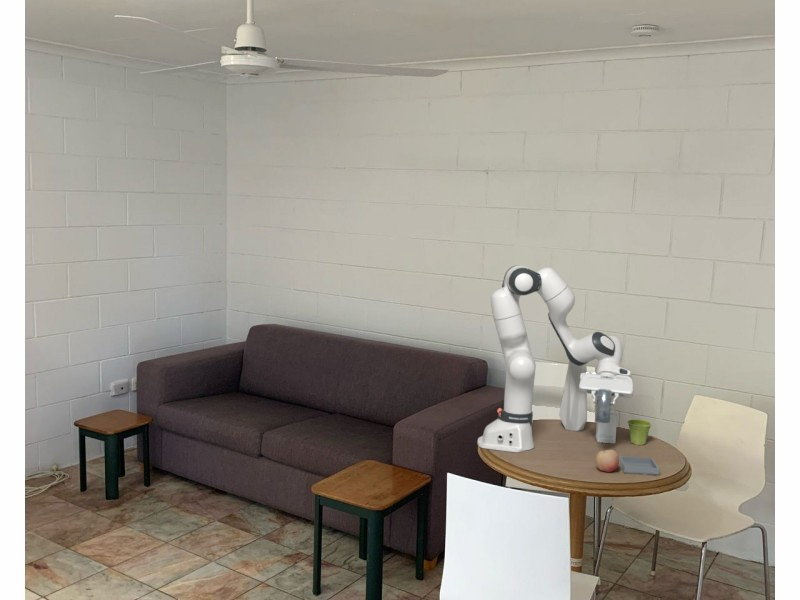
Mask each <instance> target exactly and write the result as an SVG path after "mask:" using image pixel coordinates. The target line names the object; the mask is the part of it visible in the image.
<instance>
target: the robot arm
mask: <svg viewBox="0 0 800 600" xmlns="http://www.w3.org/2000/svg"><path fill="white" fill-rule="evenodd" d="M533 293H537V294H538V295H539V296H540V298H542V300H543V301H544V303H545V304H546V306H547V308H548V314H547V316H548V320H549V321H550V325H551V327H552V329H554V332H555V334H556V335H557V337H558V340H559V341H560V342H561V344H562V348H563V349H564V351H565V354H566V357H567V359H568V360H570V361H571V362H572V363H573V364H575V365H578V366H582V365H584V364H586V363H587V364H588V363H589V362H591V361H594V360H596V361H598V363H597V365H596V366H597V367H596V371H589V370H588V371H585V372H583V373H581V375H580V384H579V391H580V392H581V393H587V395H588V394H589V395H591V397H592V399H593V401H592V402H593V404H596V405H597V399H598V397H596V395H597V396H598V389H608V390H611V391H612V394H611V397H614V398H613V399H612V398H611V406H613V407H614V406H615V404H616V402H617V401H618V400H619V398H624V399H625V398H626V399H632V398H633V396H634V383H633V379H632V372H631V371H630V370H628V369H626V368H623V367H622V366H621V363H622V361H623V355H624V354H623V352H624V351H623V350H624V349H623V343H622V341H621V339H620V338H619V337H618V336H615V335H607V334H604V333H602V332H600V331H595V332H593V333H590V334H587V335H586V336H583V337H582V338H579V339H578V338H576V337H575V336H574V334H573V333H572V331H571V329H570V327H569V325H568V322H567V316H568V314H569V313H570V312H571V311H572V309H573V308H574V306H575V303H576V302H575V301H576V296H575V293H574V291H573V290H572V289H571V287H570V286H569V285H568V283H567V282H566V280H565V279H563V277H562V276H561V275H560V274H559V273H558V272H557V271H556V270H555V269H554V268H552V267H550V266H548V267H542V268H540V269H539V270H537V271H534V270H532V269H530V268H528V267H527V266H524V265H513V266H511V267H509V268H508V269H507V271H506V272H505V274H504V277H503V281H502V285H501V288H498V289H496V290H495V291H494V292H492V293H491V296H490V305H491V313H492V317H493V321H494V324H495V328H496V329H495V330H496V332H497V333H496V334H497V336H498V340H499V344H500V347H501V351H502V354H503V359H504V362H505V366H506V368H505V369H506V370H505V371H506V373H505V384H504V385H505V386H504V396H503V397H504V398H503V409H502V407H499V408H497V410H496V411H497V413H498V415H497V417H498V418H497V419H495V420H494V421H492V422H490V423H489V424H487V425H486V426H485V428H484V430H483V434H482V435H481V436H479V437H478V438H477V442H476V443H477V446H478V447H480V448H482V449H488V450H493V451H494V450H497V451H503V452H512V453H521V452H525V451H529V450H532V449H533V448H535V445H534V444H535V443H534V439H533V428H532V426H533V421H534V414H533V413H534V412H533V396H534V394H533V393H534V385H535V378H536V377H535V376H536V362H535V359H534V357H533V354H532V351H531V346H530V341H529V338H528V333H527V330H526V326H525V321H524V318H523V314H522V311H521V307H520V297H521V296H527V295H530V294H533Z"/></svg>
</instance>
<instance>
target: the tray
mask: <svg viewBox="0 0 800 600" xmlns="http://www.w3.org/2000/svg"><path fill="white" fill-rule="evenodd" d="M618 457H619V465H620V466H619V467H621V470H622V472H623V473H624V474H627V473H630V474H629V475H642V474H647V476H657V475H659V476H660V468H659V466H658V464H657V463H656V461H655V460H654V458H653V457H642V456H640V457H639V456H629V455H627V456H626V455H625V456H623V455H618Z"/></svg>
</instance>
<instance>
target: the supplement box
mask: <svg viewBox="0 0 800 600" xmlns="http://www.w3.org/2000/svg"><path fill="white" fill-rule="evenodd" d="M617 422H618V412H617V411H616V409H614V408H611V409H610V422H609V423H601V422H598V421H596V424H595V425H596V427H595V438H596V439H595V440H596V441H597V443H602V442H603V444H604V443H605V444H616V438H617V436H616V435H617Z"/></svg>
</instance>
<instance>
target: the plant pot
mask: <svg viewBox="0 0 800 600" xmlns="http://www.w3.org/2000/svg"><path fill="white" fill-rule="evenodd" d="M627 424H628V428H629V440H630V443H631V444H634V445H637V446H643V445H646V444H647V441H648V435H649V433H650V432H649V431H650V429H651V426H652V422H650V421H648V420H644V419H629V420H627Z"/></svg>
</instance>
